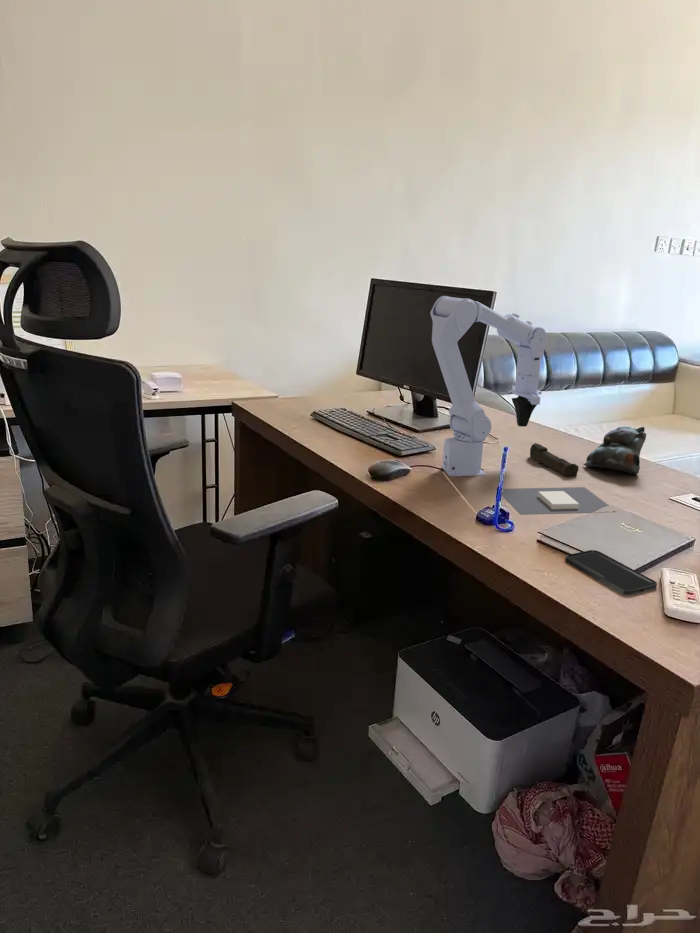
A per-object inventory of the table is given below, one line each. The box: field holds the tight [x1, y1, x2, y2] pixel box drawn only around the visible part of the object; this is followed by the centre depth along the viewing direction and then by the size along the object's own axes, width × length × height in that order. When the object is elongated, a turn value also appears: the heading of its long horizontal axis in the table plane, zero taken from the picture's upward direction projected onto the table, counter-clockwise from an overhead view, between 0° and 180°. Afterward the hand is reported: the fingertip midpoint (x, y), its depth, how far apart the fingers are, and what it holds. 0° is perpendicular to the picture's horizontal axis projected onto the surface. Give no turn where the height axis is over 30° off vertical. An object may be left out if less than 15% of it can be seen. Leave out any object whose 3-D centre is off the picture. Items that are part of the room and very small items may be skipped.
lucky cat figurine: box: [582, 425, 647, 476], centre depth 175 cm, size 15×12×14 cm
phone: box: [564, 549, 658, 596], centre depth 119 cm, size 8×1×15 cm
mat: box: [495, 486, 610, 516], centre depth 153 cm, size 22×16×1 cm
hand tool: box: [529, 442, 580, 478], centre depth 177 cm, size 19×4×5 cm, turn 15°
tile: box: [538, 491, 579, 509], centre depth 151 cm, size 6×1×8 cm
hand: (522, 425), depth 176 cm, fingers closed
